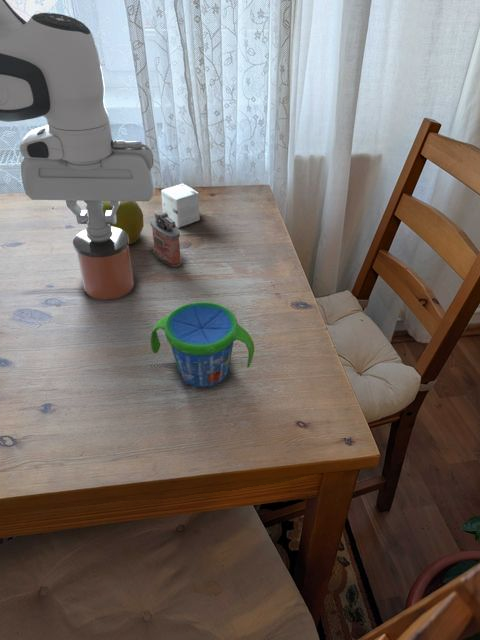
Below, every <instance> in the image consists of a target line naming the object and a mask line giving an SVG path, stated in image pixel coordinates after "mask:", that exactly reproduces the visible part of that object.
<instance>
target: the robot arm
mask: <svg viewBox="0 0 480 640" xmlns="http://www.w3.org/2000/svg"><path fill="white" fill-rule="evenodd" d="M102 69H103V68H102V65H101V59H100V55H99V51H98V48H97V44H96V40H95V38H94V35H93V33H92V32H91V29H90V28H89V27H88V26H87V25H86V24H85V23H84V22H82V21H80V20H78V19H77V18H75V17H72V16H70V15H65V14H62V13H56V12H39V13H35V14H33V15H32V16H31V17H30V18H29V20H27V21H26V19H24V18H23V17H21V16H20V15H19V13H17V12H16V11H15V9H13V8H12V6H11V5H10V4H9V2H7V0H0V122H6V123H11V122H20V121H21V122H22V121H28V120H33V119H37V118H41V117H43V118H45V119H46V122H47V125H43V126H40V127H36V128H34V129H32V130H30V131H29V132H28V133H27V134H26V135H25V136H24V137H23V139H22V140H21V142H20V145H19V151H20V154H21V156H22V157H23V159H22V160H21V162H20V176H21V181H22V186H23V190H24V194H25V195H26V196H27V197H28V198H29V199H30V200H32V201H65V203H66V207H67V208H68V209H69V210H70V211H71V212H72V213H73V215H74V216H75V219H76V222H77V224H78V225H87V224H88V222H89V217H88V210H87V209H82V208H81V207H80V205H79V204H78V201H80V202H82V201H83V202H84V201H110V206H113V208H112V211H107V212H106V215H105V217H106V220H107V221H106V223H107V224H116V222H117V217H116V212H117V210H118V208H119V205H120V202H121V201H135V202H145V203H146V202H150V201H151V200H152V199H153V197H154V195H155V191H156V185H155V179H154V174H153V171H152V169H153V166H154V155H153V151H152V149H151V148H150V147H149V146H148V145H146V144H144V143H143V142H142V141H138V140H133V141H126V140H113V136H112V129H111V123H110V116H109V113H108V111H107V107H106V106H105V99H104V97H105V82H104V76H103V70H102Z"/></svg>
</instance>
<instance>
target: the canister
mask: <svg viewBox="0 0 480 640" xmlns="http://www.w3.org/2000/svg"><path fill="white" fill-rule="evenodd" d="M111 231H112V232H113V235H112V237H111V238H110V239H109V240H107V241H104V242H93V241H91V240H90V239H88V238H87V236H86V235H87V232H86V229H84V230H81V231H80V232H78V233H77V234H76V235H75V236H74V237H73V238H72V245H73V249H74V251H75V254H76V259H77V263H78V268H79V271H80V276H81V280H82V284H83V289H84V292H85V293H86V294H87V296H89V297H91V298H93V299H97V300H114V299H118V298H121V297H123V296H125V295H127V294H129V293H130V292H131V291H132V290H133V288H134V286H135V282H134V281H135V280H134V273H133V268H132V260H131V253H130V247H129V245H130V244H129V238H128V235H127V233H126V232H125V231H123V230H121V229H119V228H116V227H112V230H111ZM128 244H129V245H128Z"/></svg>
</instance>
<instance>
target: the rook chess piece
mask: <svg viewBox="0 0 480 640" xmlns="http://www.w3.org/2000/svg"><path fill="white" fill-rule="evenodd" d="M83 202H84V203H85V204H86V205H85V210H87V216H88V222H87V224H86V225H87V226H86V228H85V230H86V232H87V235H86V236H87V238H88V239H90V240H91V241H93V242H104V241H107V240H109V239H110V238H111V237H112V235H113V232H112V231H111V230H112V227H111V226H110V224H107V223H106V219H105V216H104V213H103V205H102V203H101V202H102V201H83Z"/></svg>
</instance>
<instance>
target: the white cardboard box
mask: <svg viewBox="0 0 480 640" xmlns="http://www.w3.org/2000/svg"><path fill="white" fill-rule="evenodd" d="M160 191H161V203H162V213H165V212H166V213H167V214H168V216H169V218H171V219H172V220H174V221H175V225H176V228H177V229H178V228H182V227H185V226H188V225H190V224H193V223H195V222H198V221H200V219H201V218H200V215H201V214H200V192H199V191H196V190H195V189H193V188H192V187H190V186H188V185H187V184H185V183H180V184H177V185H173V186H170V187H167V188H163V189H161V190H160Z"/></svg>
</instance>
